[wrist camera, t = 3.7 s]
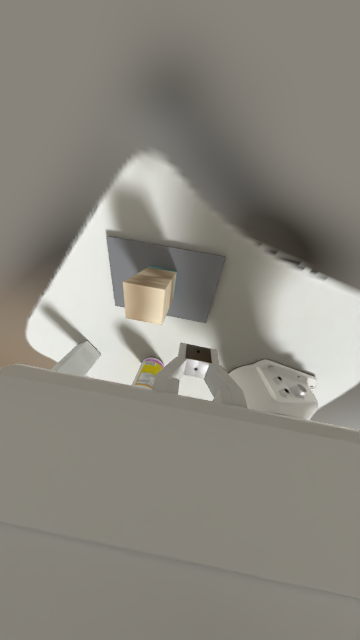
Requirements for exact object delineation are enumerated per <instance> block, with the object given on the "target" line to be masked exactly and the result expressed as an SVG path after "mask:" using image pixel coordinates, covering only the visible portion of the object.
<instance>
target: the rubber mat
mask: <svg viewBox="0 0 360 640" xmlns="http://www.w3.org/2000/svg"><path fill="white" fill-rule="evenodd" d="M107 244H108V252H109V260H110V267H111V275H112V283H113V291H114V299H115V306H120V307H125V302H124V290H123V282H124V281H125V280H127V279H129V278H130V277H132V276H134V275H136V274H137V273H139V272H141V271H142V270H144V269H146V268H148V267H149V266H152V267H157V268H163V269H168V270H174V271H177V277H176V285H175V293H174V298H173V300H172V303H171V305H170V307H169V310H168V312H167V314H166V315H167V316H172V317H177V318H183V319H188V320H193V321H198V322H204V323H206V321H207V318H208V314H209V311H210V308H211V304H212V301H213V297H214V294H215V291H216V287H217V284H218V281H219V277H220V274H221V271H222V267H223V264H224V260H225V256H220V255H214V254H208V253H203V252H197V251H191V250H185V249H180V248H174V247H168V246H162V245H157V244H151V243H145V242H139V241H134V240H128V239H122V238H116V237H110V236H107Z"/></svg>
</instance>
